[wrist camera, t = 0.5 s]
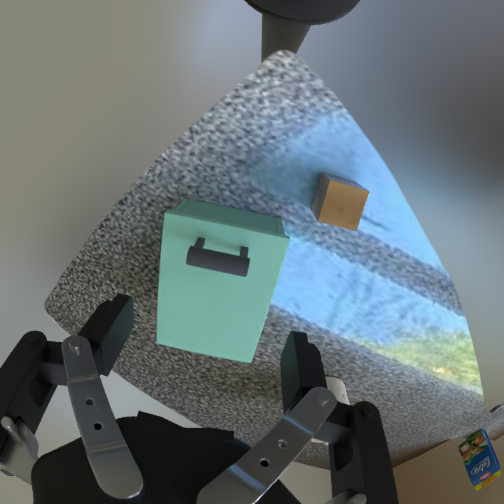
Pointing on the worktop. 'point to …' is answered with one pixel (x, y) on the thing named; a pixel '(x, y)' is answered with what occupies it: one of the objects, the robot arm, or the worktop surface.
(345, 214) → the block
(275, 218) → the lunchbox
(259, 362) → the worktop surface
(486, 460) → the blue food package
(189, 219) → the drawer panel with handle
